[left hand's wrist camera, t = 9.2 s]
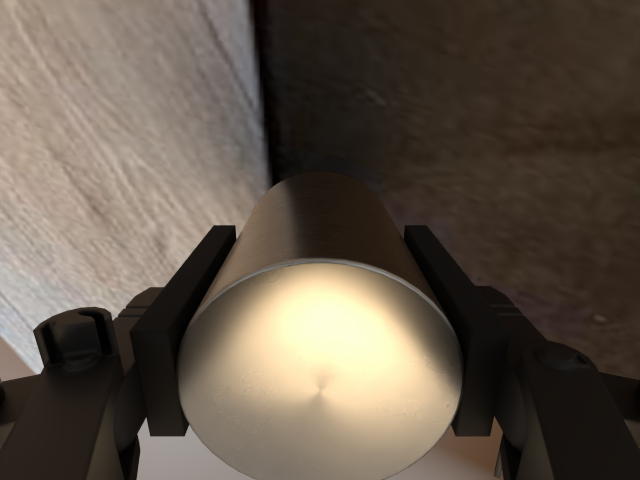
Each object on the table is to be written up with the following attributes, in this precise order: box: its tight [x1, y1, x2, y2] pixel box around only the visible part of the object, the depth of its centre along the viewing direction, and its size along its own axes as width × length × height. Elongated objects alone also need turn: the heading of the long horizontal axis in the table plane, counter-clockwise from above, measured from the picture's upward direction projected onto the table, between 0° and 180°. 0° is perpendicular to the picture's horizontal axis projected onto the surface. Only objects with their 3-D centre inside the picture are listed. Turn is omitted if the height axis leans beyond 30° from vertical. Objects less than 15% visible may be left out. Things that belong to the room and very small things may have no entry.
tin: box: [176, 171, 465, 480], centre depth 12 cm, size 6×6×8 cm
